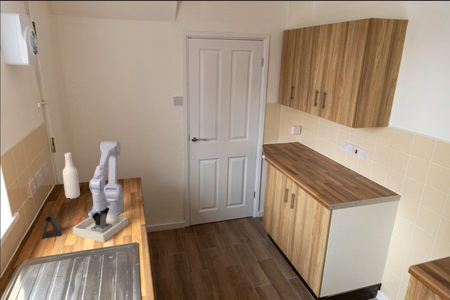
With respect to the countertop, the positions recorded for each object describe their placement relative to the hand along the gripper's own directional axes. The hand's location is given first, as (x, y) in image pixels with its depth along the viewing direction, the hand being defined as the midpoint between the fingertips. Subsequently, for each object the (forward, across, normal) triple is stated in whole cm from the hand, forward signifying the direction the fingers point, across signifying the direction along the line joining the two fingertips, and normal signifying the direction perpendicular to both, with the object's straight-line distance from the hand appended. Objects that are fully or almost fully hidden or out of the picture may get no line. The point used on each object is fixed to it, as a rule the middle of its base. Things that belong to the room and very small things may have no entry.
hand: (101, 222), depth 166 cm
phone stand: (+4, +14, -20) cm, 25 cm away
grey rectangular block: (+2, 0, 0) cm, 2 cm away
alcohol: (+4, -26, -46) cm, 53 cm away
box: (+4, 0, 0) cm, 4 cm away
